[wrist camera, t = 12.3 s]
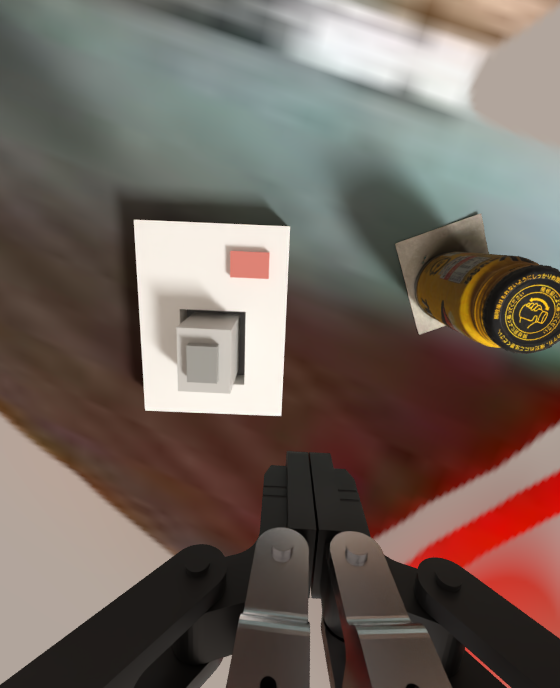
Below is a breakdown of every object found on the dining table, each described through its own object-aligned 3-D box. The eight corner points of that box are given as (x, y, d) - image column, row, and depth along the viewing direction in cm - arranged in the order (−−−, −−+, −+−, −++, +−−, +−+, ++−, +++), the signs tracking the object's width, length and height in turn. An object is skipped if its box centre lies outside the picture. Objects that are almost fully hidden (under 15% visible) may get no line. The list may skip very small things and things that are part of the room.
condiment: (418, 334, 34) (487, 382, 23) (394, 243, 32) (457, 246, 20) (497, 307, 33) (611, 344, 22) (479, 213, 31) (594, 198, 20)
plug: (194, 311, 33) (173, 330, 26) (240, 314, 33) (229, 332, 27) (195, 365, 34) (175, 395, 28) (239, 367, 34) (228, 397, 28)
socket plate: (147, 221, 32) (130, 219, 28) (289, 227, 32) (290, 226, 28) (156, 396, 36) (142, 413, 32) (281, 401, 36) (281, 419, 33)
